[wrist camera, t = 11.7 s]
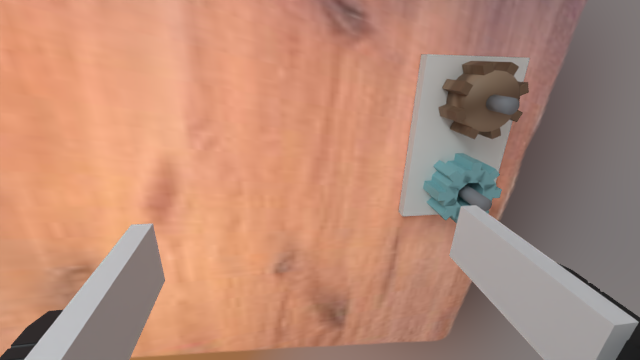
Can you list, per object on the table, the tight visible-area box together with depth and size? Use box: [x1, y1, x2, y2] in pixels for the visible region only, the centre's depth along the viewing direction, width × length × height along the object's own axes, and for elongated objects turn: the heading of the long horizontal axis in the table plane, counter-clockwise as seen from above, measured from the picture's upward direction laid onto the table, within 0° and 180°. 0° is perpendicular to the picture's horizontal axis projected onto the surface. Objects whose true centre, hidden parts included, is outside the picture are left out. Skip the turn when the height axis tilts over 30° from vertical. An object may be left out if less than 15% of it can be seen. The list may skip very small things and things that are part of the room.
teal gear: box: [423, 153, 502, 223], centre depth 41 cm, size 9×9×4 cm
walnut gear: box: [438, 61, 529, 139], centre depth 37 cm, size 9×9×4 cm
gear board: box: [399, 54, 530, 216], centre depth 38 cm, size 22×14×8 cm, turn 178°
